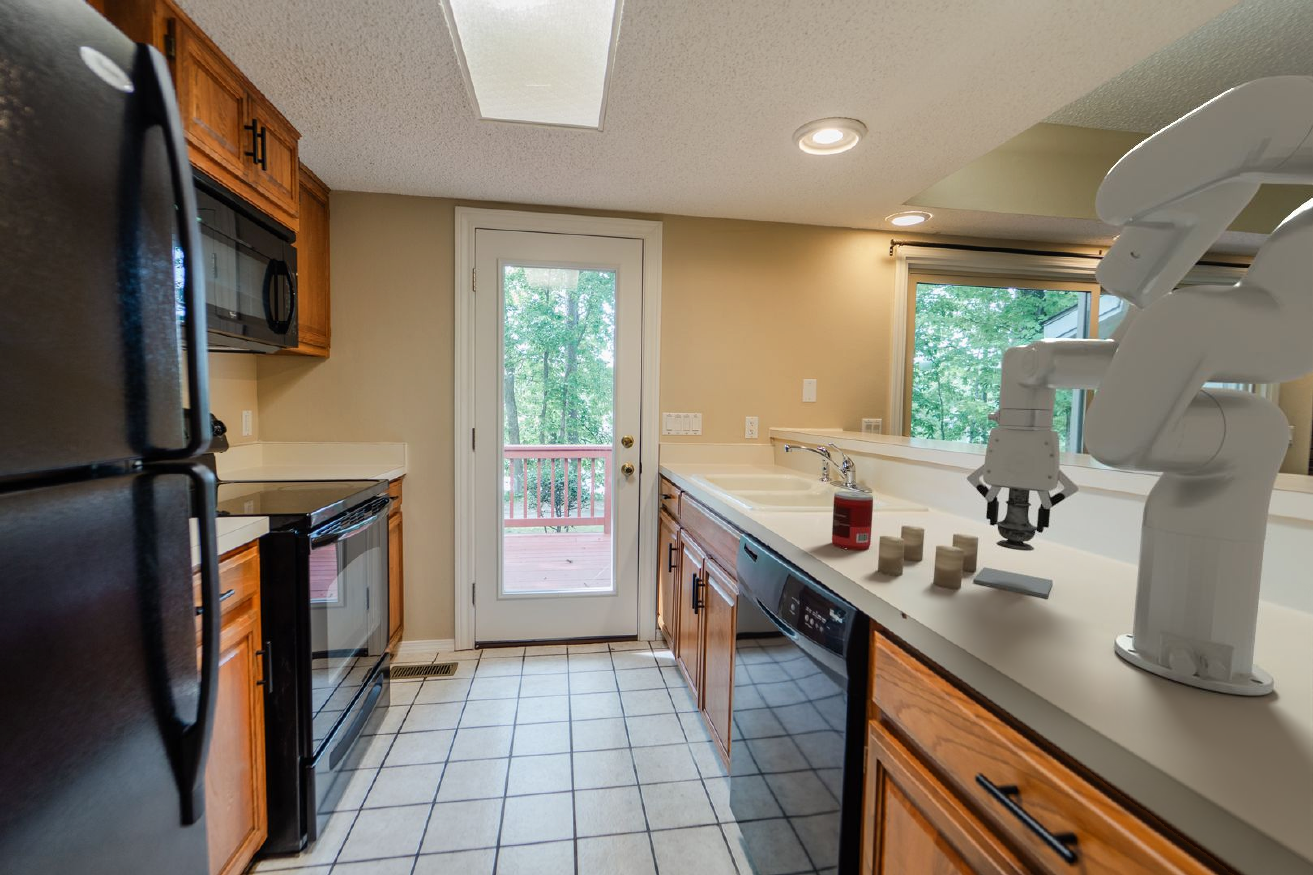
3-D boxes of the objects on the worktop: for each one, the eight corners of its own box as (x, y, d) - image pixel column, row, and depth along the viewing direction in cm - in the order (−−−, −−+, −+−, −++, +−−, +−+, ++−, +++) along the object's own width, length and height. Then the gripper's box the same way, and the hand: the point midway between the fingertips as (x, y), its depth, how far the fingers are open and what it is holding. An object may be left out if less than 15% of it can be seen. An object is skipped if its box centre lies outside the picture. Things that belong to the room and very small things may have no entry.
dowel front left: (898, 577, 89) (900, 542, 89) (874, 571, 92) (876, 538, 92) (905, 572, 92) (907, 538, 92) (881, 567, 95) (883, 534, 95)
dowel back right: (973, 573, 93) (976, 540, 93) (948, 568, 96) (950, 536, 96) (978, 568, 96) (980, 536, 96) (953, 564, 99) (955, 532, 99)
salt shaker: (1044, 549, 87) (1050, 478, 86) (1020, 552, 84) (1026, 478, 84) (1009, 540, 92) (1014, 473, 91) (986, 542, 90) (991, 473, 89)
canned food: (873, 545, 112) (876, 493, 111) (866, 552, 105) (869, 498, 104) (836, 539, 116) (839, 489, 115) (827, 546, 109) (830, 494, 108)
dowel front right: (957, 590, 84) (960, 553, 83) (930, 583, 86) (933, 548, 86) (963, 584, 86) (966, 549, 86) (937, 578, 89) (939, 544, 89)
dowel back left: (919, 562, 99) (921, 531, 99) (897, 557, 102) (898, 527, 102) (924, 558, 102) (926, 528, 102) (903, 554, 105) (905, 524, 105)
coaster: (1047, 598, 81) (1047, 594, 81) (973, 582, 88) (973, 579, 88) (1052, 583, 89) (1052, 580, 89) (983, 570, 95) (984, 567, 95)
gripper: (961, 418, 90) (953, 522, 91) (1091, 423, 78) (1081, 541, 80) (969, 418, 95) (962, 516, 96) (1092, 423, 84) (1082, 533, 85)
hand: (1016, 526), depth 88 cm, fingers closed on salt shaker, 5 cm apart
